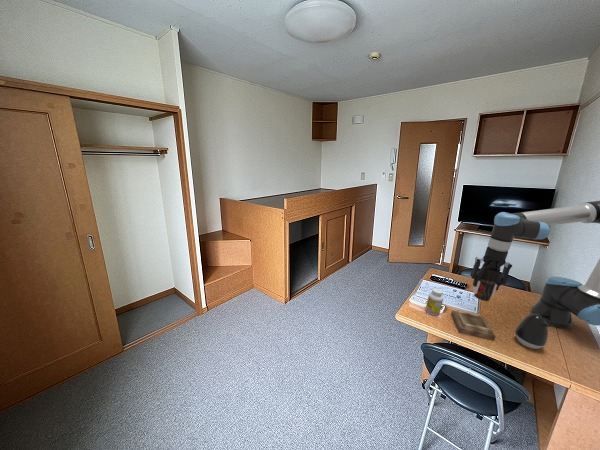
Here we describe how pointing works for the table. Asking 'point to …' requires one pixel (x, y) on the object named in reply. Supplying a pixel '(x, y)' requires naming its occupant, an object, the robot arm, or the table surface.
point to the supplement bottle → (434, 302)
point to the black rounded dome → (533, 331)
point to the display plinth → (472, 325)
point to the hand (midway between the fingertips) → (482, 293)
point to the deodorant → (487, 284)
